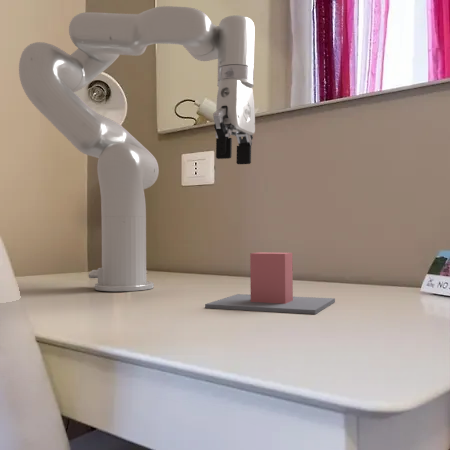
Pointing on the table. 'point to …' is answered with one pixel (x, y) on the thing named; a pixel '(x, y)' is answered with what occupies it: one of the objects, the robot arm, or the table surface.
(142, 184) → the robot arm
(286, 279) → the pink rectangular block
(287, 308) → the mat
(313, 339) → the table surface
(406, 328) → the table surface
